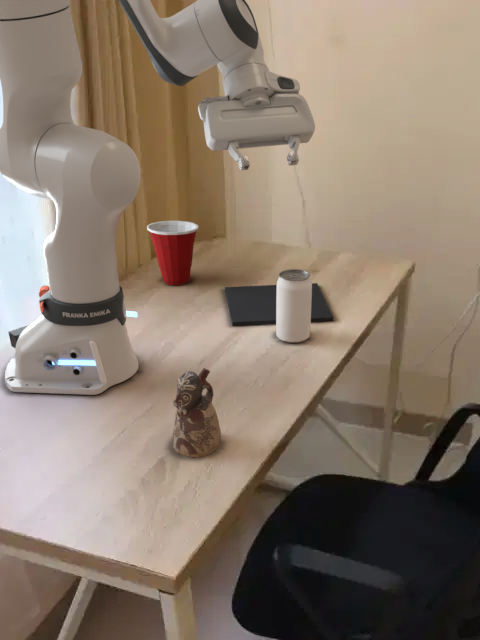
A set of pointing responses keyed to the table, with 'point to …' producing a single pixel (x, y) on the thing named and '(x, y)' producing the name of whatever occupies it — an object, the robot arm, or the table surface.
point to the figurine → (195, 416)
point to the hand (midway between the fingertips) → (269, 165)
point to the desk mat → (267, 305)
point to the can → (293, 306)
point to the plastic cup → (174, 249)
